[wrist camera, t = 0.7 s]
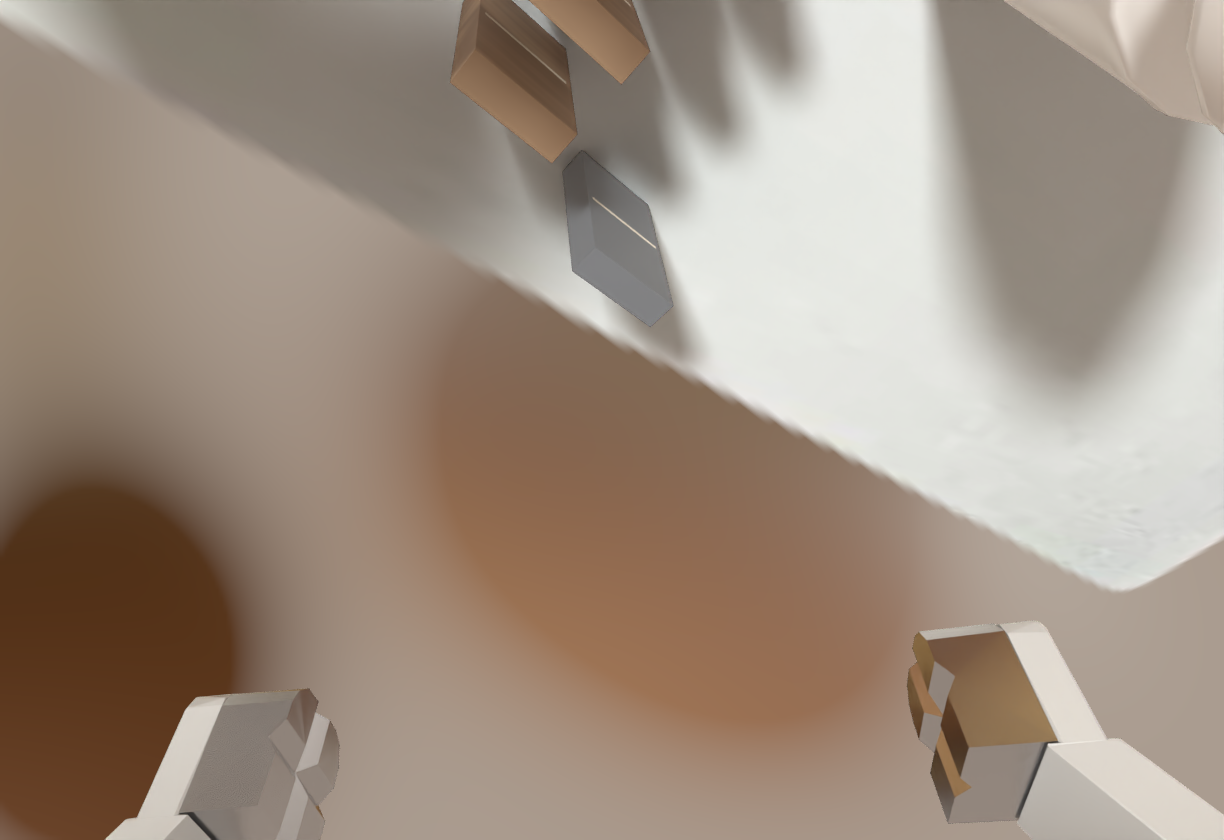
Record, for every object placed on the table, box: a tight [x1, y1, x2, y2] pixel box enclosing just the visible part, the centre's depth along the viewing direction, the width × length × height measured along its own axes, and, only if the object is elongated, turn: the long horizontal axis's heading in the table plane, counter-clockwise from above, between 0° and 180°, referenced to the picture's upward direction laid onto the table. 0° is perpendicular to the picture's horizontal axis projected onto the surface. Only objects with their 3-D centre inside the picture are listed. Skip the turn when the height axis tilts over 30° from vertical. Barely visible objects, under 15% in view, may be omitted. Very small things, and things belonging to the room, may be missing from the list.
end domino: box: [563, 151, 673, 327], centre depth 41 cm, size 2×5×10 cm, turn 48°
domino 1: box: [450, 0, 577, 163], centre depth 35 cm, size 2×5×10 cm, turn 48°
